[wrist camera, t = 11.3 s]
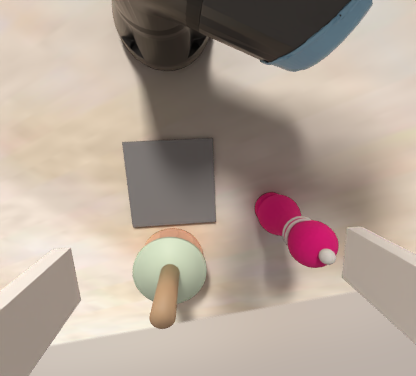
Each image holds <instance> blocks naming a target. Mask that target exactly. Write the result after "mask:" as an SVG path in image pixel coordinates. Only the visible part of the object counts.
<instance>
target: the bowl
mask: <svg viewBox="0 0 416 376" xmlns="http://www.w3.org/2000/svg"><path fill="white" fill-rule="evenodd" d="M163 237H178V238H182V239H185V240H187V241H189V242H191V243H192V244H194V245H195V246H196V247H197V248H198V249H199V250H200V251H201V253H202V248H201V246H200V244H199V242H198V241H197V239H196V238H195V237H194V236H193V235H191V234H190V233H188V232H187V231H184V230H181V229H175V228H170V229H164V230H161V231H159V232H157V233H155V234H154V235H152V236H151V237H150V238H149V239H148V240H147V242H146V244H145V245H147V244H148V243H150V242H151V241H153V240H156V239H159V238H163ZM202 255H203V253H202Z"/></svg>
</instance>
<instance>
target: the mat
mask: <svg viewBox="0 0 416 376" xmlns="http://www.w3.org/2000/svg"><path fill="white" fill-rule="evenodd" d="M122 145H123V153H124V161H125V169H126V177H127V185H128V193H129V200H130V208H131V216H132V224H133V227H145V226H159V225H174V224H188V223H203V222H216V213H215V187H214V162H213V138H203V139H181V140H159V141H137V142H122Z"/></svg>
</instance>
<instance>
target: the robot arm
mask: <svg viewBox="0 0 416 376" xmlns="http://www.w3.org/2000/svg"><path fill="white" fill-rule="evenodd" d="M372 4H373V3H372V0H112V13H113V18H114V22H115V26H116V29H117V31H118V34H119V36H120V38H121V39H122V41H123V43H124V44H125V45H126V47H127V48H128V50H129V51H130V52H131V53H132V55H133V56H134V57H135V58H137V59H138V60H139V61H140V62H142V63H143V64H145V65H147V66H149V67H151V68H154V69H158V70H164V71H170V70H177V69H180V68H183V67H185V66H187V65H189V64H190V63H192V62H193V61H194V60H195V59H196V58H197V57H198V56H199V55H200V54H201V53H202V51H203V49H204V48H205V46H206V44H207V41H208V38H209V37H210V38H212V39H215V40H217V41H219V42H221V43H224V44H226V45H228V46H230V47H233V48H235V49H237V50H239V51H242V52H244V53H246V54H248V55H250V56H253V57H255V58H257V59H259V60H260V62H262V63H264V64H267V65H274V66H277V67H279V68H282V69H285V70H287V71H293V72H296V71H299V70H305V69H308V68H310V67H312V66H314V65H315V64H317V63H318V62H320V61H321V60H323V59H324V58H325V57H326V56H328V55H329V54H330V53H331V52H332V51H333V50H334V49H336V48H337V47H338V46H339V45H340V44H341V43H342V42H343V41H344V40H345V39H346V37H347V36H348V35H349V34H350V33H351V32H352V31H353V30H354V29H355V27H356V26H357V25H358V24H359V23H360V21H361V20H362V19H363V17H364V16H365V15H366V13H367V12H368V11H369V9H370V8H371V6H372ZM342 278H343V279H344V280H345V281H346V282H348V283H349V284H350V285H351V286H352V287H353V288H354V289H355V290H356V291H357V292H358V293H360V294H361V295H362V296H363V297H364V298H365V299H366V300H367V301H368V302H369V303H371V304H372V305H373V306H374V307H375V308H376V309H377V310H378V311H379V312H380V313H382V314H383V315H384V316H385V317H386V318H387V319H388V320H389V321H390V322H391V323H392V324H394V325H395V326H396V327H397V328H398V329H399V330H400V331H401V332H402V333H403V334H404V335H406V336H407V337H408V338H409V339H410V340H411V341H412V342H413V343H414V344H416V254H415V253H413V252H411V251H409V250H407V249H405V248H403V247H401V246H399V245H397V244H395V243H393V242H391V241H389V240H387V239H385V238H383V237H381V236H379V235H377V234H375V233H373V232H371V231H369V230H367V229H366V228H364V227H362V226H361V227H347V229H346V240H345V250H344V260H343V271H342ZM80 301H81V298H80V292H79V287H78V282H77V277H76V272H75V267H74V262H73V256H72V251H71V248H60V249H53V250H51V251H50V252H49V253H48V254H46V255H45V256H44V257H42V258H41V259H40V260H39V261H37V262H36V263H35V264H34V265H32V266H31V267H30V268H28V269H27V270H26V271H25V272H23V273H22V274H21V275H20V276H18V277H17V278H16V279H14V280H13V281H12V282H11V283H9V284H8V285H7V286H6V287H4V288H3V289H2V290H0V376H29V374H30V373H31V371H32V370H33V369H34V367H35V366H36V364H37V363H38V361H39V360H40V359H41V357H42V356H43V354H44V353H45V351H46V350H47V348H48V347H49V346H50V344H51V343H52V341H53V340H54V338H55V337H56V335H57V334H58V333H59V331H60V330H61V328H62V327H63V325H64V324H65V322H66V321H67V320H68V318H69V317H70V315H71V314H72V312H73V311H74V309H75V308H76V307H77V305H78V304H79V302H80Z"/></svg>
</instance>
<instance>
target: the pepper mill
mask: <svg viewBox="0 0 416 376" xmlns="http://www.w3.org/2000/svg"><path fill="white" fill-rule="evenodd" d="M255 213H256V215H257V217H258V219H259V222H260V224H261V226H262V227H263V228H264V229H265V230H266V231H268V232H269V233H272V234H274V235H280V236H283V240H284V242H285V243H286V244H287V245H288V249H289V251H290V253H291V255H292V256H293V257H294V259H295V260H297V261H298V262H299V263H301V264H302V265H305V266H307V267H312V268H318V267H323V266H325V265H330V264H333V263H334V262H335V260H336V254H337V252H338V239H337V237H336V235H335V233H334V232H333V231H332V229H331V228H329V227H328V226H327V225H326V224H324V223H321V222H319V221H314V220H311V219H310V218H308V217H305V216H301V212H300V209H299V207H298V206H297V204H296V203H295V202H294V201H293V200H292V199H291V198H289V197H287V196H284V195H279V194H277V193H274V192H270V193H265V194H263V195H262V196H261V197H259V199H258V200H257V202H256V204H255Z"/></svg>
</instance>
